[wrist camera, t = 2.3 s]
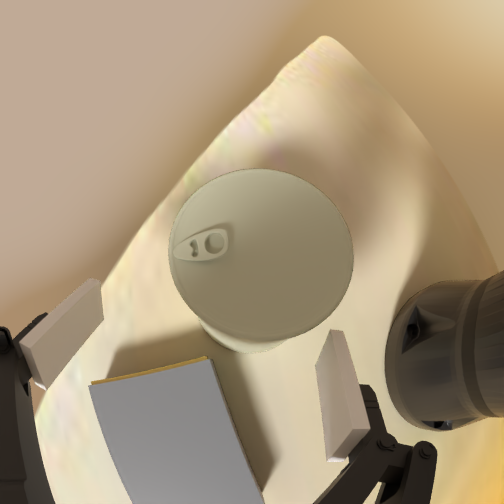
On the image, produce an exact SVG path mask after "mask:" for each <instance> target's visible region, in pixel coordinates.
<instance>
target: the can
mask: <svg viewBox="0 0 504 504" xmlns="http://www.w3.org/2000/svg"><path fill="white" fill-rule="evenodd" d="M168 256H169V265H170V270H171V274H172V277H173V280H174V283H175V285H176V288H177V290H178V291H179V293H180V295H181V297H182V298H183V300H184V301H185V302H186V304H187V305H188V306H189V308H190V309H191V310H192V311H193V312H194V313H195V314H196V315H197V316H198V318H199V321H200V323H201V325H202V326H203V328H204V330H205V331H206V332H207V333H208V335H209V336H210V337H211V338H212V339H213V340H215V341H216V342H217V343H219V344H220V345H222V346H223V347H226V348H228V349H230V350H233V351H236V352H241V353H260V352H264V351H268V350H270V349H273V348H275V347H277V346H279V345H280V344H282V343H283V342H284V341H286V340H287V339H289V338H292V337H296V336H298V335H301V334H303V333H305V332H307V331H309V330H311V329H313V328H314V327H316V326H318V325H319V324H320V323H322V322H323V321H324V320H325V319H326V318H327V317H328V316H330V315H331V313H332V312H333V311H334V310H335V309H336V308H337V306H338V305H339V303H340V302H341V300H342V299H343V297H344V295H345V293H346V291H347V289H348V286H349V283H350V280H351V276H352V271H353V262H354V255H353V245H352V240H351V236H350V233H349V230H348V227H347V225H346V222H345V221H344V219H343V217H342V215H341V213H340V212H339V210H338V209H337V207H336V206H335V205H334V204H333V202H332V201H331V200H330V199H329V198H328V197H327V196H326V195H325V194H324V193H323V192H321V191H320V190H319V189H318V188H316V187H315V186H313V185H312V184H311V183H309V182H307V181H305V180H303V179H301V178H299V177H297V176H295V175H292V174H289V173H286V172H282V171H278V170H272V169H260V168H253V169H243V170H237V171H233V172H229V173H227V174H224V175H221V176H219V177H217V178H215V179H213V180H211V181H209V182H207V183H206V184H205V185H203V186H202V187H200V188H199V189H198V190H197V191H196V192H194V193H193V194H192V195H191V196H190V197H189V199H188V200H187V201H186V202H185V204H184V205H183V206H182V208H181V209H180V211H179V213H178V215H177V217H176V219H175V221H174V224H173V227H172V230H171V234H170V238H169V248H168Z"/></svg>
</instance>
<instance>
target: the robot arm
mask: <svg viewBox="0 0 504 504" xmlns="http://www.w3.org/2000/svg"><path fill="white" fill-rule="evenodd" d="M103 320H104V316H103V307H102V297H101V284H100V281H99V280H96V279H92V278H89V279H88V280H87V281H86V282H84V283H83V284H82V285H81V286H80V287H79V288H77V289H76V290H75V291H74V292H73V293H71V294H70V295H69V296H68V297H67V298H66V299H65V300H64V301H62V302H61V303H60V304H59V305H58V306H57V307H56V308H55V309H54V310H53V311H51V312H50V313H49V314H48V313H44V314H42V315H39V316H37V317H36V318H35V319H34V320H33V321H32V323H30V324H29V325H28V326H27V327H25V328H24V329H23V330H22V331H21V332H20V333H19V334H18V335H17V336H16V337H15V338H14V339H13V340H12V337H11V334H10V331H9V330H8V329H7V328H6V327H0V504H55V501H54V499H53V496H52V493H51V490H50V486H49V483H48V480H47V476H46V472H45V469H44V465H43V461H42V457H41V452H40V448H39V443H38V438H37V432H36V426H35V420H34V414H33V406H32V397H31V388H30V382H29V379H30V378H31V377H33V379H34V382H35V384H36V385H38V386H39V387H41V388H43V389H45V390H47V389H48V388H49V387H50V385H51V384H52V383H53V381H54V380H55V379H56V377H57V376H58V375H59V374H60V372H61V371H62V370H63V369H64V367H65V366H66V365H67V363H68V362H69V361H70V360H71V358H72V357H73V356H74V355H75V353H76V352H77V351H78V350H79V349H80V347H81V346H82V345H83V344H84V342H85V341H86V340H87V339H88V338H89V336H90V335H91V334H92V333H93V332H94V330H95V329H96V328H97V327H98V326H99V325H100V323H101V322H102V321H103ZM315 367H316V374H317V382H318V389H319V397H320V405H321V413H322V421H323V430H324V439H325V449H326V459H327V462H343V461H344V460H345V459H346V457H347V456H348V457H349V464H348V465H347V466H346V467H345V468H344V469H343V470H342V471H341V473H340V474H339V475H338V476H337V478H336V479H335V480H334V481H333V482H332V483H331V485H330V486H329V487H328V488H327V489H326V490H325V491H324V492H323V493H322V494H321V495H320V496H319V498H318V499H317V500H316V501H315V502H314V503H313V504H363V503H364V501H365V500H366V498H367V497H368V496H369V494H370V493H371V491H372V490H373V488H374V487H375V486H376V484H377V483H378V482H382V484H381V487H380V490H379V493H378V496H377V499H376V501H375V504H430V499H431V494H432V489H433V483H434V477H435V470H436V463H437V450H436V448H435V446H434V445H433V444H432V443H429V442H427V441H420V442H418V443H417V444H416V445H415V446H414V447H413V446H408V445H403V444H400V443H398V442H397V440H396V439H395V437H393V436H392V435H391V434H389V433H387V431H386V427H385V424H384V420H383V417H382V414H381V410H380V409H379V404H378V402H377V401H378V400H377V397H376V394H375V392H374V391H373V389H372V388H371V387H370V386H369V385H362V384H359V383H358V379H357V376H356V372H355V369H354V365H353V362H352V359H351V355H350V352H349V349H348V345H347V342H346V339H345V336H344V332H343V331H339V330H331V329H330V331H329V334H328V336H327V339H326V341H325V344H324V346H323V349H322V351H321V353H320V356H319V358H318V361H317V363H316V365H315ZM385 375H386V383H387V388H388V391H389V395H390V397H391V400H392V402H393V404H394V406H395V408H396V409H397V411H398V412H399V414H400V415H401V416H402V417H403V418H404V419H405V420H406V421H407V422H409V423H410V424H412V425H414V426H416V427H419V428H422V429H427V430H432V431H449V430H453V429H456V428H460V427H463V426H466V425H469V424H472V423H474V422H477V421H480V420H483V419H485V418H488V417H504V271H502V272H500V273H498V274H496V275H494V276H492V277H490V278H488V279H486V280H461V281H443V282H439V283H436V284H434V285H432V286H430V287H428V288H426V289H424V290H422V291H420V292H418V293H417V294H415V295H414V296H413V297H412V298H410V299H409V300H408V301H407V303H406V304H405V305H404V306H403V308H402V309H401V310H400V312H399V314H398V315H397V317H396V319H395V321H394V323H393V326H392V328H391V331H390V334H389V338H388V342H387V348H386V355H385Z"/></svg>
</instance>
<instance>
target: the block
mask: <svg viewBox="0 0 504 504" xmlns="http://www.w3.org/2000/svg"><path fill="white" fill-rule="evenodd" d="M91 384H92V385H89V386H88V387H89V391H90V394H91V398H92V401H93V405H94V408H95V412H96V415H97V418H98V421H99V424H100V427H101V430H102V433H103V436H104V439H105V441H106V444H107V447H108V449H109V452H110V454H111V457H112V459H113V462H114V464H115V467H116V469H117V471H118V474H119V476H120V478H121V480H122V483H123V485H124V487H125V489H126V491H127V493H128V495H129V497H130V499H131V501H132V503H133V504H265V503H264V499H263V495H262V492H261V490H260V487H259V485H258V483H257V480H256V478H255V476H254V473H253V471H252V468H251V466H250V463H249V461H248V458H247V456H246V453H245V451H244V448H243V446H242V443H241V440H240V438H239V435H238V433H237V430H236V427H235V424H234V422H233V419H232V416H231V413H230V411H229V408H228V405H227V402H226V399H225V396H224V394H223V391H222V388H221V385H220V382H219V379H218V376H217V373H216V370H215V366H214V363H213V360H212V359H208V358H207V356H203V357H200V358H196V359H192V360H188V361H185V362H181V363H177V364H173V365H169V366H164V367H160V368H156V369H152V370H147V371H143V372H138V373H133V374H128V375H124V376H119V377H113V378H108V379H103V380H97V381H91Z"/></svg>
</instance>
